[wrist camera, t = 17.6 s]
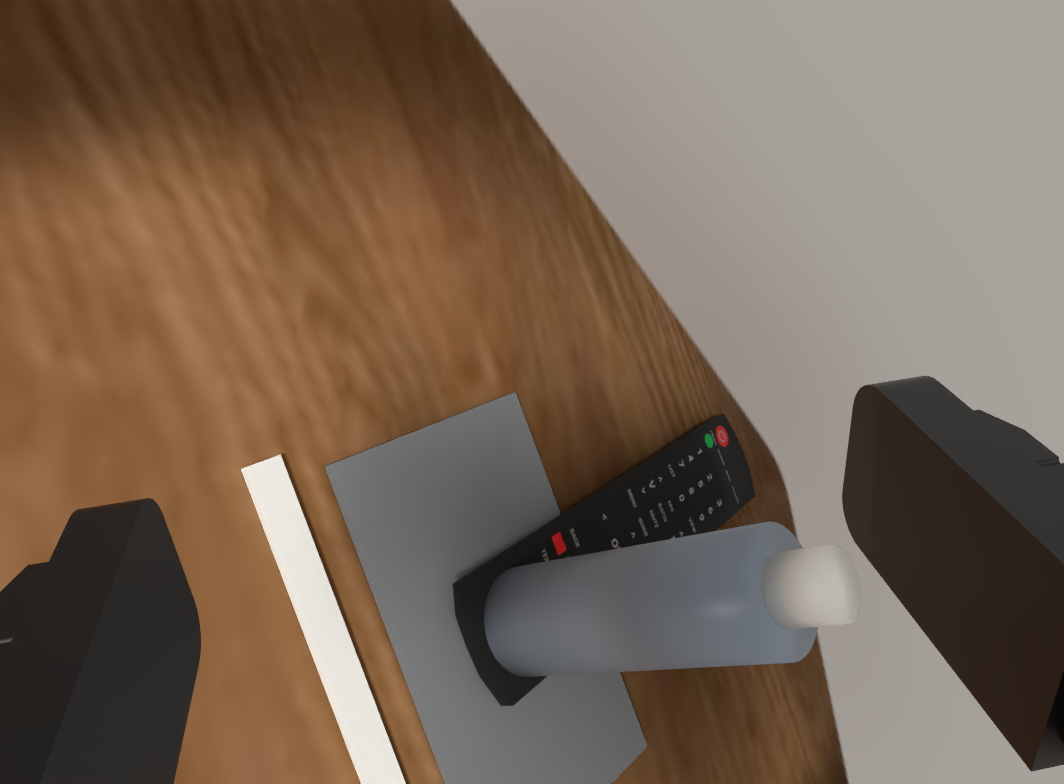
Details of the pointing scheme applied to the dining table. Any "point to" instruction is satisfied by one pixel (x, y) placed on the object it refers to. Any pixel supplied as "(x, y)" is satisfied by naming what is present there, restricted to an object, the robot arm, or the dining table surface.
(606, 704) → the mat
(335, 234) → the dining table surface
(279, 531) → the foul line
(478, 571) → the remote control
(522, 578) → the slim bottle
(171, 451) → the dining table surface
